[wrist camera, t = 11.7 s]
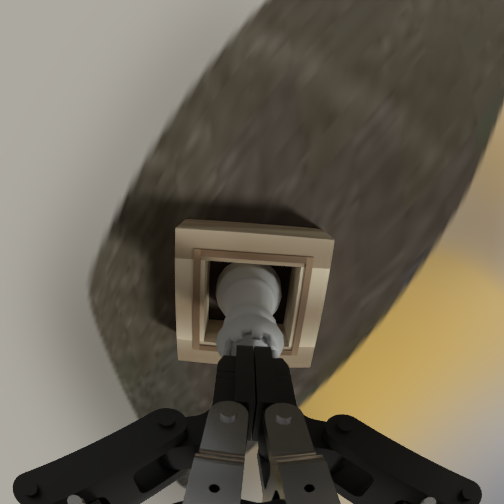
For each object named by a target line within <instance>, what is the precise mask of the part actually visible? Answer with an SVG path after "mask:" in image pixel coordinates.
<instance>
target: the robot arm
mask: <svg viewBox="0 0 504 504" xmlns="http://www.w3.org/2000/svg"><path fill="white" fill-rule="evenodd" d="M251 432H252V441H258V447H259V449H258V454H257V459H258V465H259V472H260V479H261V485H262V493H263V501H262V503H256V502H251V501H247V500H242V499H241V490H242V481H243V470H244V461H245V452H246V447H247V441H250V439H251ZM190 469H191V472H190V476H189V480H188V484H187V488H186V492H185V496H184V500H183V501H181V502H177V503H174V504H340V501H339V498H338V495H337V493H338V494H340V495H341V496H343V497H344V498H346V499H347V500H349V501H350V502H352V503H353V504H479V503H480V501H481V497H482V493H481V489H480V487H479V485H478V484H477V483H475V482H474V481H472V480H470V479H467V478H465V477H463V476H461V475H459V474H456V473H454V472H452V471H450V470H448V469H446V468H444V467H442V466H440V465H438V464H436V463H434V462H432V461H430V460H428V459H426V458H424V457H422V456H420V455H418V454H417V453H415V452H413V451H411V450H409V449H407V448H405V447H404V446H402V445H400V444H398V443H397V442H395V441H393V440H391V439H390V438H388V437H386V436H384V435H382V434H381V433H379V432H377V431H375V430H374V429H372V428H371V427H369V426H367V425H366V424H364V423H362V422H361V421H359V420H357V419H356V418H354V417H352V416H349V415H335V416H333V417H331V418H330V419H328V421H327V422H325V421H319V420H314V419H311V418H308V417H306V416H305V415H303V413H302V411H301V410H300V409H299V408H298V407H297V405H296V400H295V395H294V390H293V385H292V382H291V375H290V370H289V365H288V364H287V363H286V362H285V361H284V359H283V358H273V357H272V350H271V347H268V346H254V351H253V346H247V345H237V346H236V356H229V355H224V356H223V357H222V358H221V359H220V360H219V361H218V367H217V374H216V382H215V390H214V398H213V404H212V406H211V408H210V409H209V410H208V411H207V412H205V413H203V414H201V415H197V416H191V417H185V416H184V415H183V414H182V413H181V412H179V411H177V410H174V409H170V408H162V409H158V410H155V411H153V412H151V413H150V414H148V415H146V416H144V417H142V418H141V419H139V420H137V421H135V422H133V423H131V424H130V425H128V426H126V427H124V428H122V429H120V430H118V431H116V432H114V433H112V434H111V435H108V436H106V437H104V438H103V439H100V440H99V441H96V442H95V443H92V444H90V445H88V446H86V447H84V448H82V449H80V450H77V451H75V452H73V453H71V454H69V455H66V456H64V457H62V458H60V459H57V460H55V461H53V462H50V463H48V464H46V465H43V466H41V467H38V468H36V469H33V470H31V471H28V472H25V473H23V474H21V475H19V476H18V477H17V478H16V479H15V481H14V483H13V493H14V496H15V497H16V499H17V501H18V502H19V503H20V504H140V503H142V502H143V501H145V500H147V499H148V498H150V497H151V496H153V495H154V494H156V493H158V492H159V491H161V490H162V489H164V488H165V487H167V486H168V485H170V484H171V483H173V482H174V481H176V480H177V479H179V478H180V477H181V476H183V475H184V474H186V473H187V472H188V471H189V470H190Z"/></svg>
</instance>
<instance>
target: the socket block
mask: <svg viewBox="0 0 504 504" xmlns="http://www.w3.org/2000/svg"><path fill="white" fill-rule="evenodd" d="M333 247H334V239H333V238H332V237H331V236H329V235H328V234H327V233H326V232H325V231H324V230H322V229H316V228H305V227H293V226H281V225H269V224H256V223H243V222H229V221H214V220H199V219H185V220H184V221H183V222H182V223H180V224H179V225H178V226H177V227H176V228H175V302H176V330H177V350H178V360H184V361H193V362H202V363H213V364H218V361H219V360H220V359H221V358H222V357H221V356H220V355H219V353H218V350H217V346H216V340H217V336H218V332H219V331H220V330H221V328H222V327H223V323H224V320H212V319H209V284H210V261H221V262H235V263H249V264H263V265H277V266H292V267H291V275H290V282H289V290H288V297H287V304H286V311H285V318H284V324H276V325H277V326H278V328H279V329H280V331H281V332H282V334H283V339H284V347H283V350H282V352H281V355H280V356H279V357H278V358H283V359H284V361H285V362H286V363H287V364H288V365H289V367H310V365H311V361H312V357H313V352H314V348H315V343H316V339H317V334H318V329H319V325H320V320H321V315H322V310H323V305H324V300H325V294H326V289H327V283H328V278H329V272H330V266H331V260H332V253H333Z"/></svg>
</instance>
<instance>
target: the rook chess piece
mask: <svg viewBox="0 0 504 504" xmlns="http://www.w3.org/2000/svg"><path fill="white" fill-rule="evenodd" d="M216 298H217V303H218V306H219V308H220V309H221V311H222V312H223V314H224V315H225V316H226V317H225V320H224V323H223V327H222V328H221V330H220V331H219V332H218V336H217V340H216V346H217V350H218V353H219V355H220V356H221V357H223V356H224V355H229V356H236V346H237V345H247V346H253V351H254V346H268V347H271V350H272V357H273V358H278V357H279V356H280V355H281V352H282V350H283V347H284V339H283V334H282V332H281V331H280V329H279V328H278V326H277V325H276V320H275V319H274V317H273V316H272V315H273V314H274V313H275V312H276V311H277V309H278V307H279V304H280V301H281V298H282V292H281V282H280V278H279V276H278V275H277V273H276V271H275V270H274V269H273V268H272V267H271V266H269V265H263V264H249V263H235V262H233V263H231V264H230V265H228V266H226V267H225V268H224V270H223V271H222V272H221V274H220V275H219V276H218V280H217V284H216Z"/></svg>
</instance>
